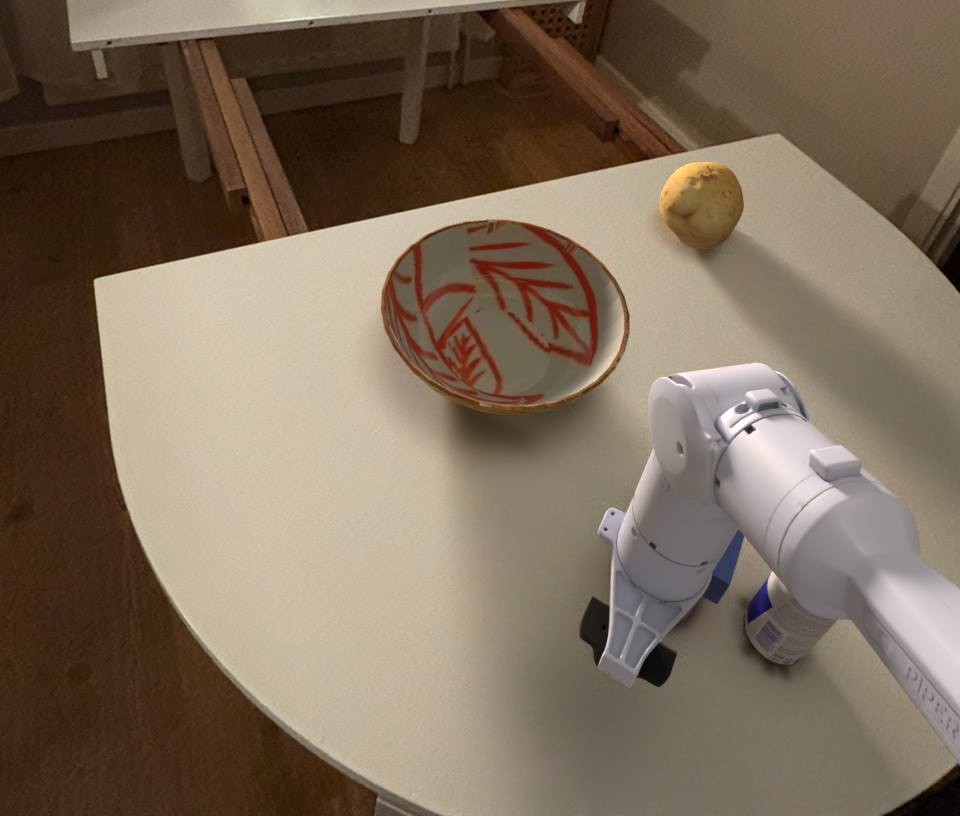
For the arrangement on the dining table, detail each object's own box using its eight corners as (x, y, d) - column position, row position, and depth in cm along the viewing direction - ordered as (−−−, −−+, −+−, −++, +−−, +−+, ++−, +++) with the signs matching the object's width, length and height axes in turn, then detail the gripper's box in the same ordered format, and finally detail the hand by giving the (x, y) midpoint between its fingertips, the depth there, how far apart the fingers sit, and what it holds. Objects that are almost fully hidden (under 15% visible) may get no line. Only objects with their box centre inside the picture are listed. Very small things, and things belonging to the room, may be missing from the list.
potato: (737, 214, 104) (760, 156, 98) (722, 273, 95) (747, 213, 88) (664, 190, 106) (682, 132, 100) (642, 245, 97) (661, 185, 91)
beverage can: (810, 624, 63) (887, 537, 54) (795, 683, 60) (875, 600, 50) (750, 588, 65) (815, 497, 56) (732, 642, 61) (798, 556, 52)
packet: (733, 548, 61) (747, 526, 59) (716, 606, 58) (730, 585, 55) (640, 497, 64) (649, 474, 62) (618, 549, 60) (627, 527, 58)
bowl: (555, 251, 95) (566, 202, 90) (657, 421, 77) (677, 372, 72) (356, 290, 87) (355, 239, 82) (418, 490, 69) (422, 441, 64)
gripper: (657, 394, 51) (616, 499, 59) (567, 589, 40) (532, 683, 49) (762, 446, 48) (704, 548, 57) (695, 668, 38) (635, 752, 46)
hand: (631, 614), depth 53 cm, fingers open, 7 cm apart
